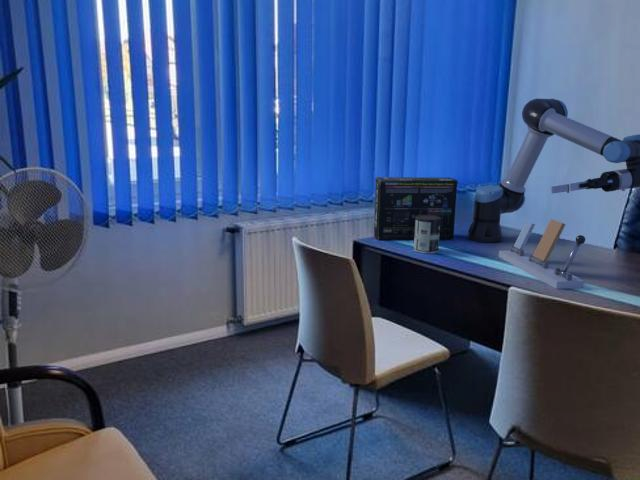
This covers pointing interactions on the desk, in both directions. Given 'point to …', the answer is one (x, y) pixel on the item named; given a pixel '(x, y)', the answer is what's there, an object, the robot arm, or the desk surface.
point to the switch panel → (541, 270)
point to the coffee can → (427, 234)
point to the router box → (413, 205)
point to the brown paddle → (548, 242)
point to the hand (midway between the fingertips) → (560, 188)
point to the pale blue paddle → (523, 237)
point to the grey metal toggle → (571, 256)
